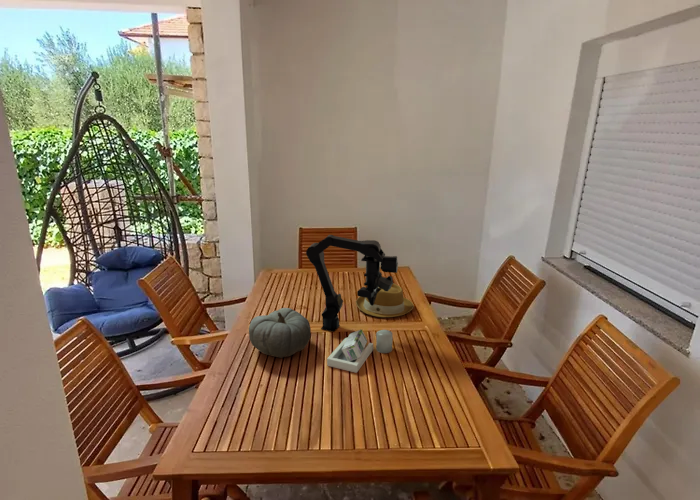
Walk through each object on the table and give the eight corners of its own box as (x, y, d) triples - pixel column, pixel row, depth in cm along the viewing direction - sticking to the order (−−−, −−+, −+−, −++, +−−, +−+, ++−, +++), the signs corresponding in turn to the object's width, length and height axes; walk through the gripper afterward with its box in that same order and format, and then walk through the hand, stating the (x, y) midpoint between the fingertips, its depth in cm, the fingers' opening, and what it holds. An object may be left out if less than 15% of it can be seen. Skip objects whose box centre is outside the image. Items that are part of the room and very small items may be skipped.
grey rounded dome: (374, 351, 165) (374, 335, 163) (379, 343, 171) (379, 328, 169) (389, 354, 162) (389, 338, 160) (394, 347, 168) (394, 331, 166)
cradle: (327, 365, 155) (327, 358, 154) (345, 344, 170) (345, 337, 169) (356, 372, 150) (356, 365, 149) (372, 350, 166) (373, 343, 165)
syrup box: (367, 341, 167) (361, 357, 153) (355, 345, 169) (347, 362, 155) (361, 328, 167) (354, 344, 153) (349, 333, 168) (340, 349, 154)
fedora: (368, 293, 223) (368, 272, 219) (420, 303, 211) (421, 281, 207) (346, 312, 200) (346, 289, 196) (402, 324, 188) (404, 300, 184)
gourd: (233, 352, 159) (238, 309, 156) (267, 333, 182) (272, 295, 179) (290, 371, 151) (297, 327, 148) (318, 349, 174) (324, 310, 171)
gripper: (382, 281, 161) (381, 317, 165) (398, 267, 177) (397, 300, 181) (356, 276, 165) (356, 312, 170) (374, 263, 182) (373, 296, 186)
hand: (372, 305), depth 177 cm, fingers closed
